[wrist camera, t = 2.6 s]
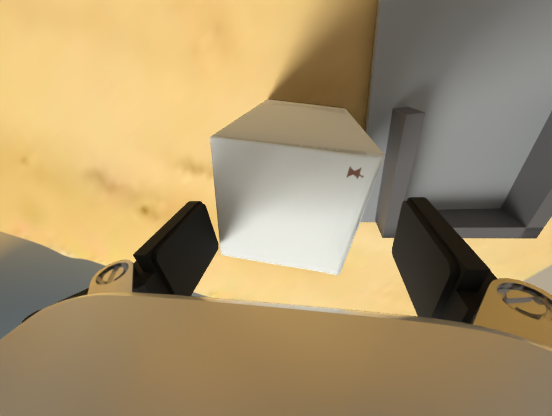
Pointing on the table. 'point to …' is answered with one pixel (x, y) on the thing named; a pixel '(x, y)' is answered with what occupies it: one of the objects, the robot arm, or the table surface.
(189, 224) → the robot arm
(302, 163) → the supplement box
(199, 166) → the table surface
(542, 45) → the box holder
